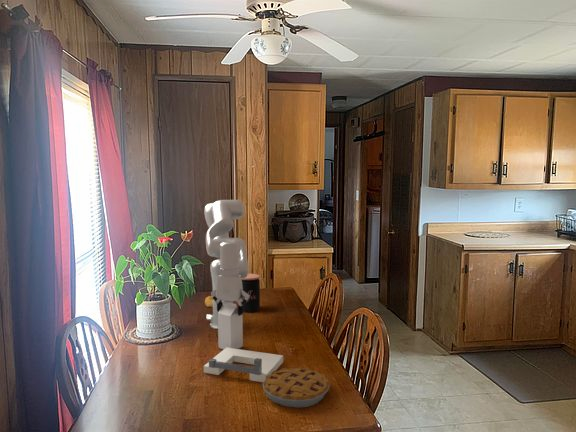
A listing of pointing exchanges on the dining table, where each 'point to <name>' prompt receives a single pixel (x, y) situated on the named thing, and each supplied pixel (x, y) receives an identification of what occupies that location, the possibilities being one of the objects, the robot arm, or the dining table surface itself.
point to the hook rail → (238, 366)
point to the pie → (296, 387)
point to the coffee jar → (251, 292)
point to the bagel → (209, 301)
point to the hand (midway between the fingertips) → (230, 313)
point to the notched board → (247, 362)
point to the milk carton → (230, 327)
